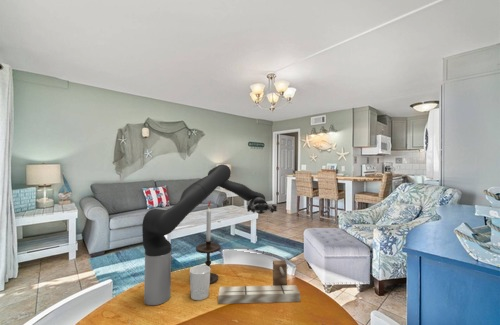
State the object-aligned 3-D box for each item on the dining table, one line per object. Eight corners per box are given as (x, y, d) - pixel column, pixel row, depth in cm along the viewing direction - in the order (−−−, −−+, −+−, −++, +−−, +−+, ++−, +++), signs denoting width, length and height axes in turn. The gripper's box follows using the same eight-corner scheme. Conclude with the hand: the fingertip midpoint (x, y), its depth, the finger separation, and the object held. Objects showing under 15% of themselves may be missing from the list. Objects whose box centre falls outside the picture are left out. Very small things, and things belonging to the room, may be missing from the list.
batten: (218, 303, 81) (218, 295, 81) (219, 294, 87) (219, 286, 87) (300, 301, 82) (300, 293, 83) (296, 292, 88) (295, 284, 88)
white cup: (206, 288, 92) (206, 263, 92) (213, 297, 85) (213, 270, 85) (186, 293, 88) (187, 267, 88) (192, 303, 81) (193, 275, 81)
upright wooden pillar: (276, 299, 83) (276, 269, 84) (272, 287, 92) (272, 260, 93) (289, 299, 84) (289, 269, 84) (284, 287, 93) (284, 260, 93)
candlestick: (222, 274, 104) (223, 199, 105) (217, 286, 93) (217, 202, 95) (200, 273, 105) (200, 198, 106) (191, 285, 94) (192, 201, 96)
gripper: (246, 198, 119) (247, 202, 103) (273, 198, 120) (278, 202, 104) (246, 212, 119) (247, 218, 103) (273, 212, 120) (278, 218, 103)
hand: (263, 210), depth 103 cm, fingers open, 8 cm apart
